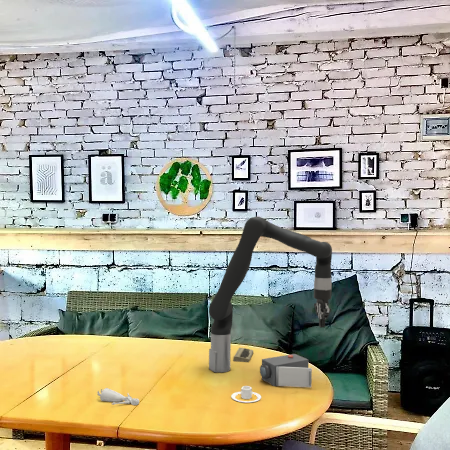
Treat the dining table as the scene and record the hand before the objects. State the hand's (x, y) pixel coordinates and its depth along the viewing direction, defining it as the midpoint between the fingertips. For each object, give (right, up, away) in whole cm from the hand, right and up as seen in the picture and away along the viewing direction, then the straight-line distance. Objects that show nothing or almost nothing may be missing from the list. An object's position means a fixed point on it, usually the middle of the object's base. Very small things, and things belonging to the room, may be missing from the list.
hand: (322, 327), depth 221 cm
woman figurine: (-84, -25, -24) cm, 91 cm away
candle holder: (-34, -25, -19) cm, 46 cm away
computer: (-33, -23, +35) cm, 54 cm away
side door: (-13, -24, -7) cm, 28 cm away
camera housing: (-17, -24, +2) cm, 29 cm away
